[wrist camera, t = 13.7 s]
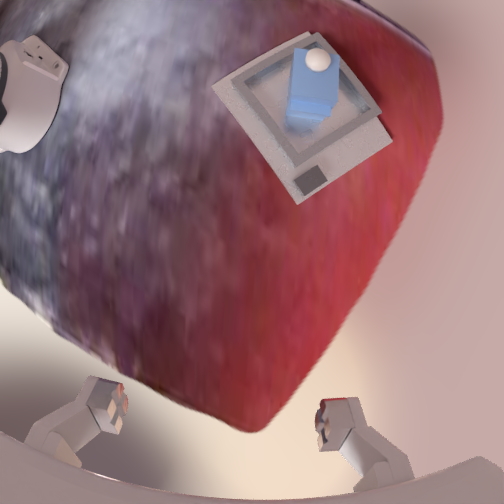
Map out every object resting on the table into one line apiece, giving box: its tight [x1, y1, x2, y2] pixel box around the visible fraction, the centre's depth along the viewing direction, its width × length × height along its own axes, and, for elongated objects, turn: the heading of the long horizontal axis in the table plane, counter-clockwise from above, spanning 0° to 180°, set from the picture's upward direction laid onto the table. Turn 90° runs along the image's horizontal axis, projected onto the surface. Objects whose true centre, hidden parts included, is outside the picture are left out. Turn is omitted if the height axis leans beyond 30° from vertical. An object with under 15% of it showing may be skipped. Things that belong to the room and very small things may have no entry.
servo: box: [286, 48, 340, 121], centre depth 26 cm, size 7×4×8 cm, turn 174°
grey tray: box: [211, 31, 393, 205], centre depth 30 cm, size 17×14×3 cm
